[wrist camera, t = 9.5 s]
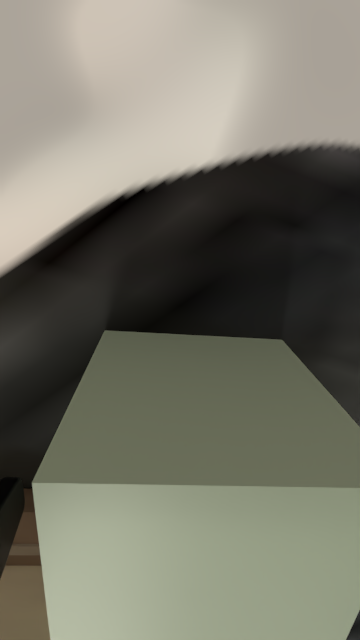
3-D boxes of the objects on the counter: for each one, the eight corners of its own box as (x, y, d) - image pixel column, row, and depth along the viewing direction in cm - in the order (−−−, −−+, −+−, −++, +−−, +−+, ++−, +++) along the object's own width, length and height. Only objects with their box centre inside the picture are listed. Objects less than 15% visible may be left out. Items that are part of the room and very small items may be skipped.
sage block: (253, 471, 13) (325, 684, 7) (106, 468, 12) (57, 693, 7) (281, 338, 11) (414, 488, 5) (105, 329, 10) (31, 483, 4)
